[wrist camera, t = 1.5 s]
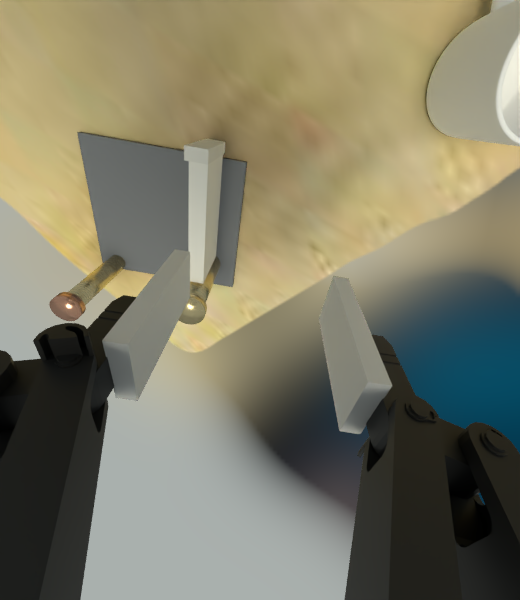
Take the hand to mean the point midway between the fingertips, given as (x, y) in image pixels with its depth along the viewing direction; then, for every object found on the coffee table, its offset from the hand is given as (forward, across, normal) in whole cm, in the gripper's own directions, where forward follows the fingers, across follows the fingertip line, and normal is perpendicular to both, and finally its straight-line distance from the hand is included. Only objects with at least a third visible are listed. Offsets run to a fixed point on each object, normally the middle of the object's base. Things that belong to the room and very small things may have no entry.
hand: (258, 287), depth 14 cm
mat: (+19, -12, -4) cm, 23 cm away
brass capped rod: (+19, -18, -11) cm, 28 cm away
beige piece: (+17, -6, -1) cm, 19 cm away
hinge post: (+19, -6, -9) cm, 22 cm away
